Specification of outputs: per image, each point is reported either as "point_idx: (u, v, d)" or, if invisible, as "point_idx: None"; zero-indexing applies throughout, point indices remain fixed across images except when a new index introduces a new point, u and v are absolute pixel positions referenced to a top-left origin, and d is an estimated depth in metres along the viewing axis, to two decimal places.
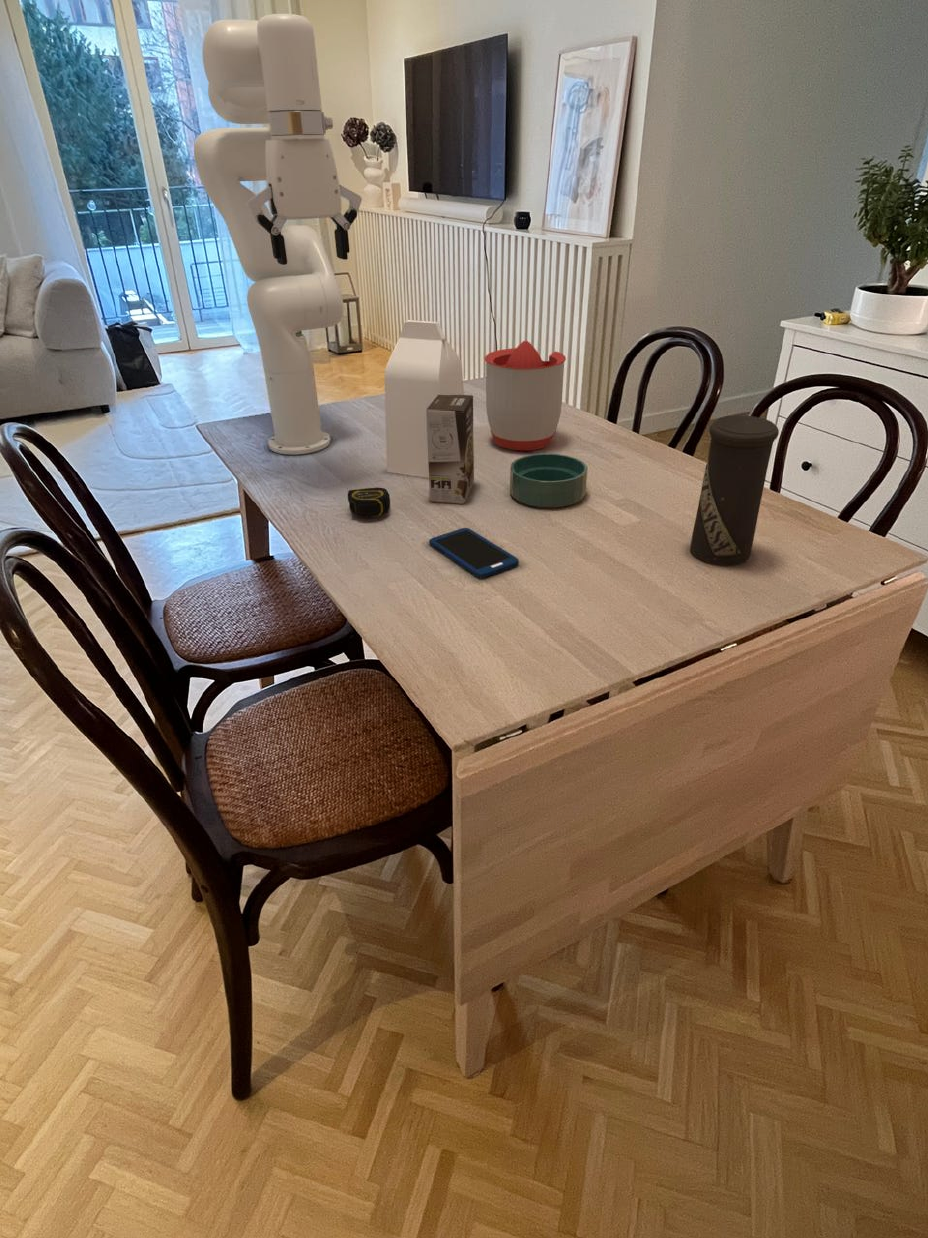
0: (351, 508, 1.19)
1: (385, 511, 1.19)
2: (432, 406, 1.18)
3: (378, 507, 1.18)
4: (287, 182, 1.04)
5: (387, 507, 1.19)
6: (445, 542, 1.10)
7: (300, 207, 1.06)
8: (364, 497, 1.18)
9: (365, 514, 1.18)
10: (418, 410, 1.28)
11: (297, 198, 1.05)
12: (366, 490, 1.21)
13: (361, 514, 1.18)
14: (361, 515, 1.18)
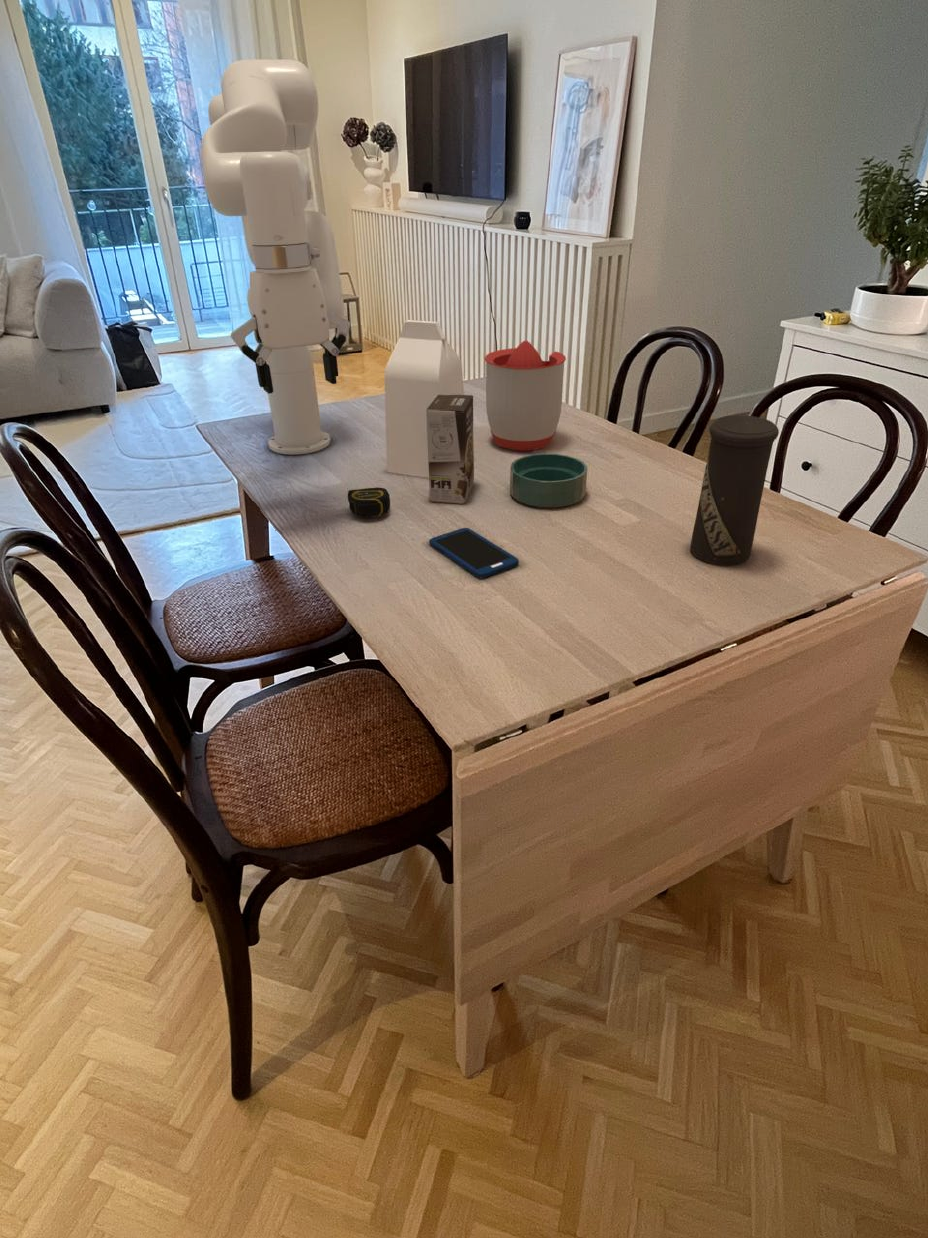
0: (351, 508, 1.19)
1: (385, 511, 1.19)
2: (432, 406, 1.18)
3: (378, 507, 1.18)
4: (272, 314, 0.99)
5: (387, 507, 1.19)
6: (445, 542, 1.10)
7: (286, 337, 1.02)
8: (364, 497, 1.18)
9: (365, 514, 1.18)
10: (418, 410, 1.28)
11: (283, 329, 1.01)
12: (366, 490, 1.21)
13: (361, 514, 1.18)
14: (361, 515, 1.18)
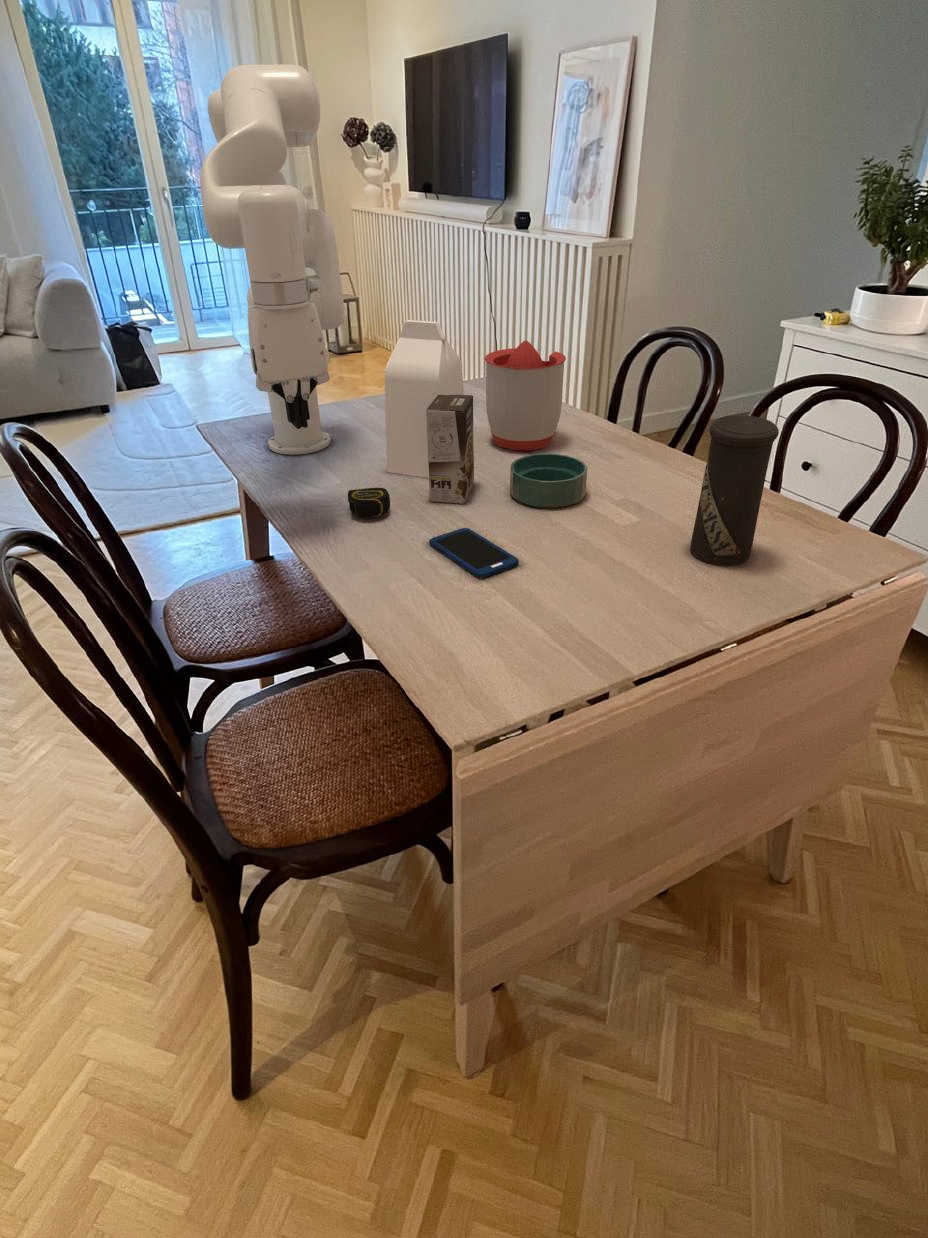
0: (351, 508, 1.19)
1: (385, 511, 1.19)
2: (432, 406, 1.18)
3: (378, 507, 1.18)
4: (270, 349, 1.00)
5: (387, 507, 1.19)
6: (445, 542, 1.10)
7: (284, 371, 1.02)
8: (364, 497, 1.18)
9: (365, 514, 1.18)
10: (418, 410, 1.28)
11: (281, 363, 1.01)
12: (366, 490, 1.21)
13: (361, 514, 1.18)
14: (361, 515, 1.18)
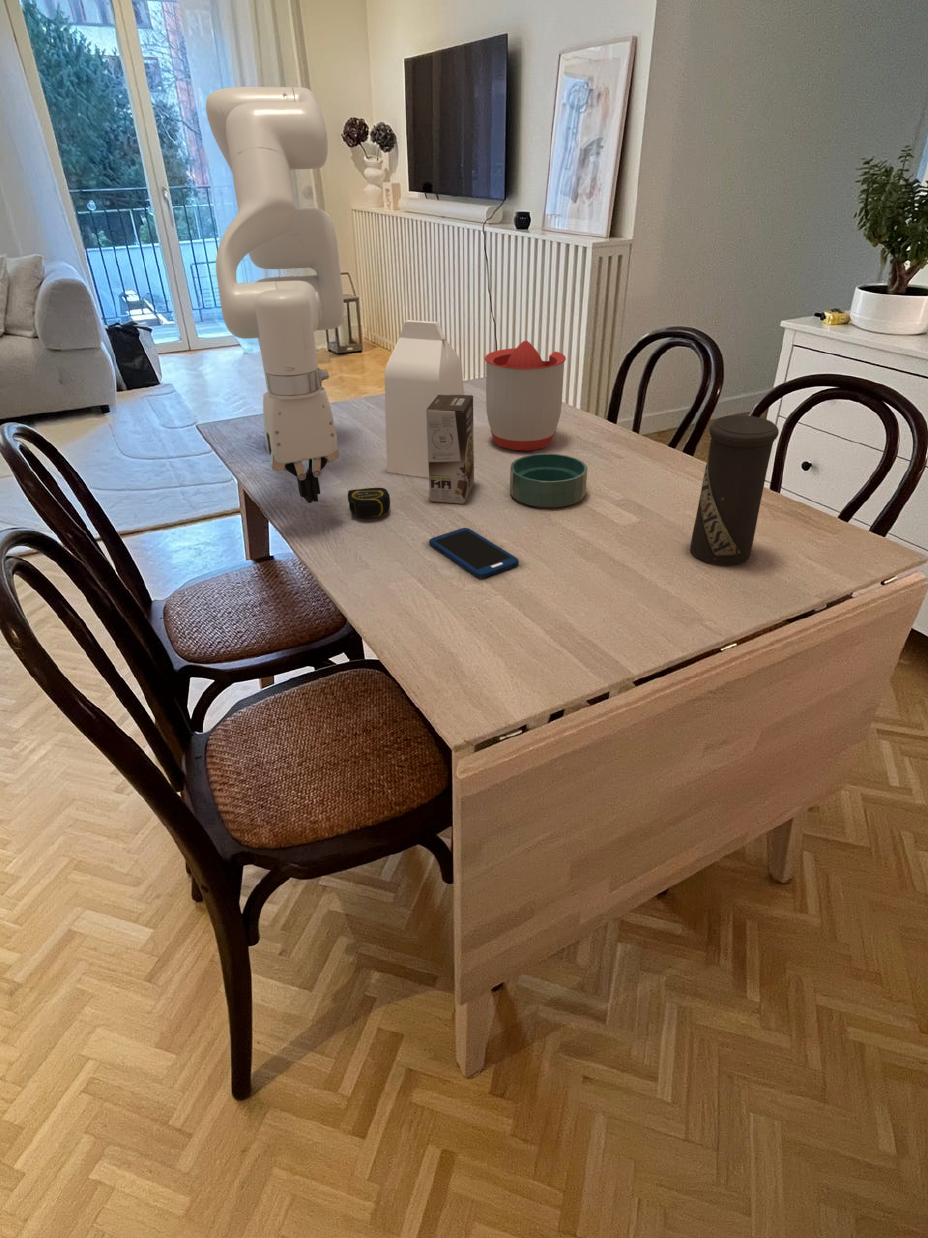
0: (351, 508, 1.19)
1: (385, 511, 1.19)
2: (432, 406, 1.18)
3: (378, 507, 1.18)
4: (284, 434, 1.06)
5: (387, 507, 1.19)
6: (445, 542, 1.10)
7: (297, 452, 1.09)
8: (364, 497, 1.18)
9: (365, 514, 1.18)
10: (418, 410, 1.28)
11: (294, 446, 1.08)
12: (366, 490, 1.21)
13: (361, 514, 1.18)
14: (361, 515, 1.18)
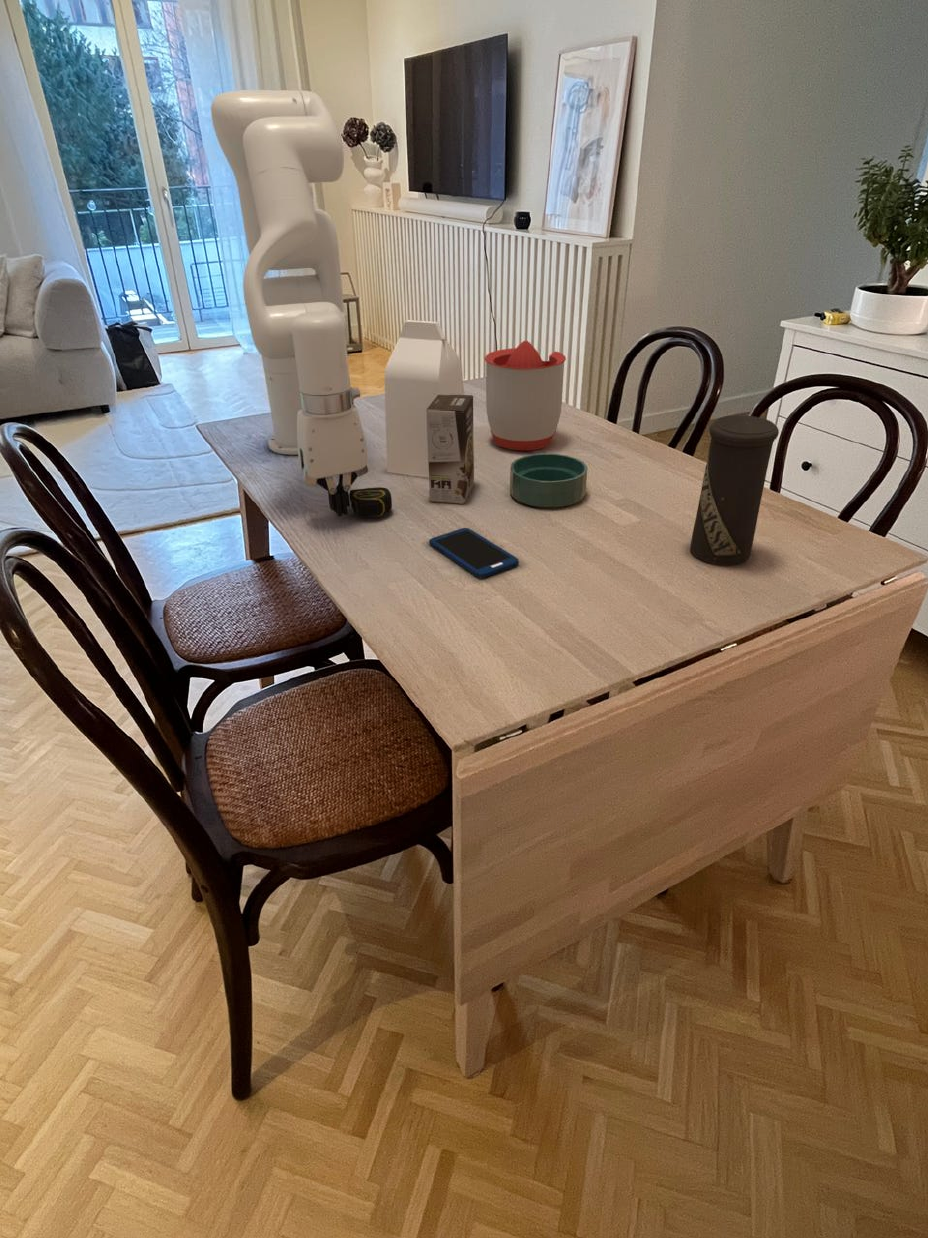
0: (353, 508, 1.19)
1: (387, 511, 1.19)
2: (432, 406, 1.18)
3: (380, 507, 1.18)
4: (317, 450, 1.10)
5: (389, 507, 1.20)
6: (445, 542, 1.10)
7: (329, 468, 1.12)
8: (366, 497, 1.18)
9: (367, 514, 1.18)
10: (418, 410, 1.28)
11: (326, 462, 1.12)
12: (368, 490, 1.21)
13: (363, 514, 1.18)
14: (362, 515, 1.18)
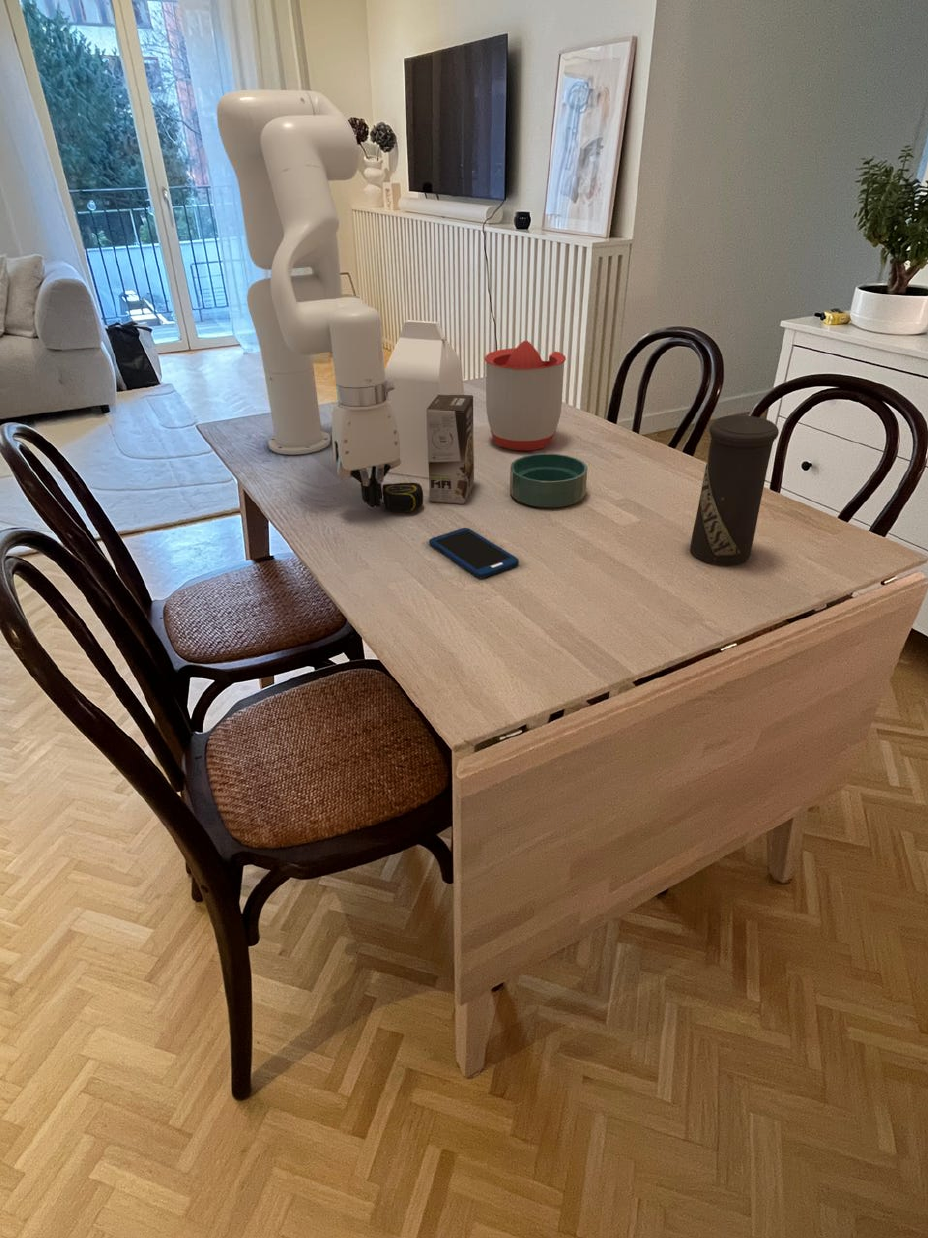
0: (384, 502, 1.20)
1: (418, 506, 1.21)
2: (432, 406, 1.18)
3: (411, 502, 1.19)
4: (352, 442, 1.12)
5: (420, 502, 1.21)
6: (445, 542, 1.10)
7: (363, 460, 1.14)
8: (398, 492, 1.20)
9: (398, 509, 1.20)
10: (418, 410, 1.28)
11: (361, 454, 1.13)
12: (400, 485, 1.22)
13: (394, 508, 1.20)
14: (393, 509, 1.20)
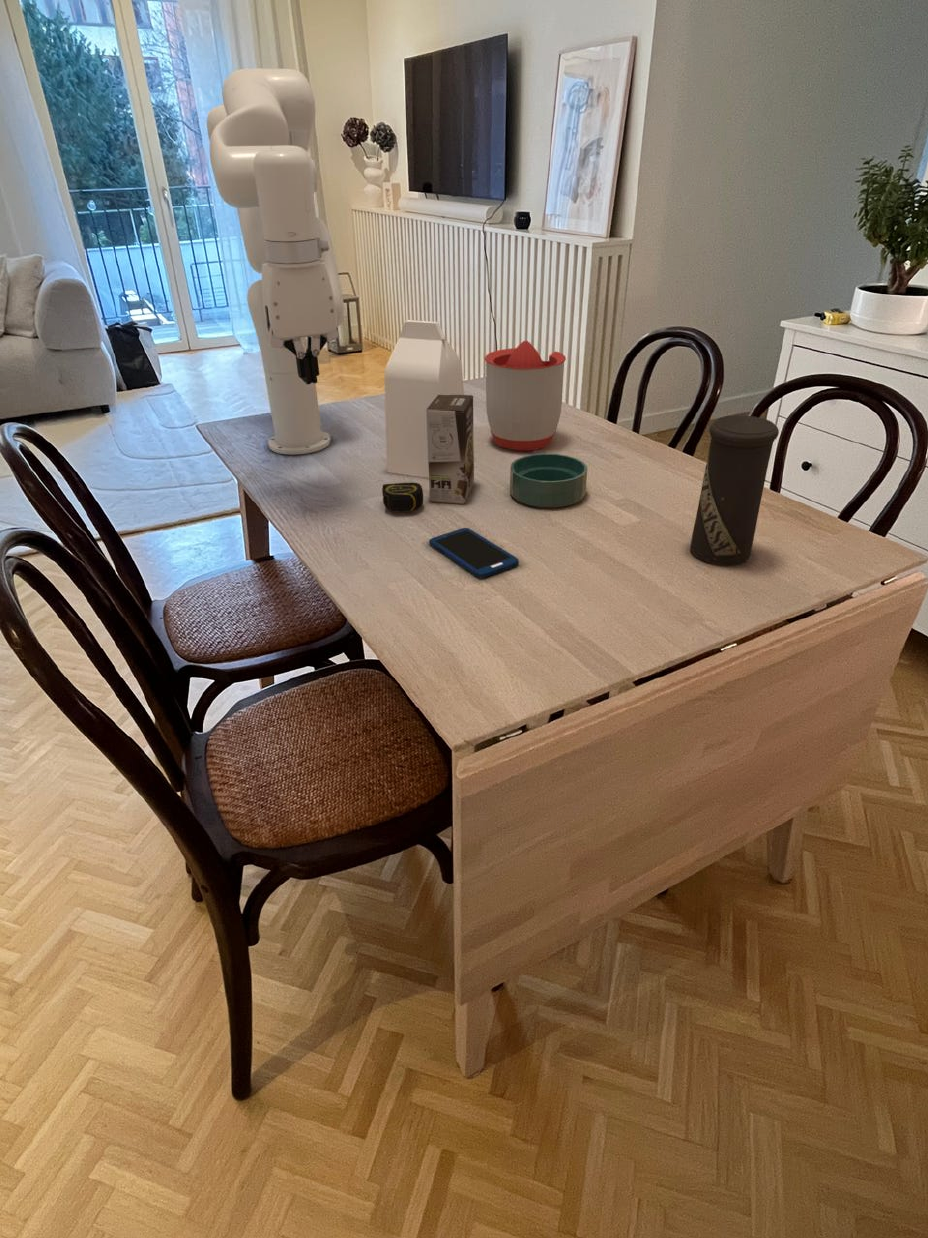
0: (384, 502, 1.20)
1: (418, 506, 1.21)
2: (432, 406, 1.18)
3: (411, 502, 1.19)
4: (283, 306, 1.05)
5: (420, 502, 1.21)
6: (445, 542, 1.10)
7: (296, 327, 1.07)
8: (398, 492, 1.20)
9: (398, 509, 1.20)
10: (418, 410, 1.28)
11: (293, 320, 1.06)
12: (400, 485, 1.22)
13: (394, 508, 1.20)
14: (393, 509, 1.20)
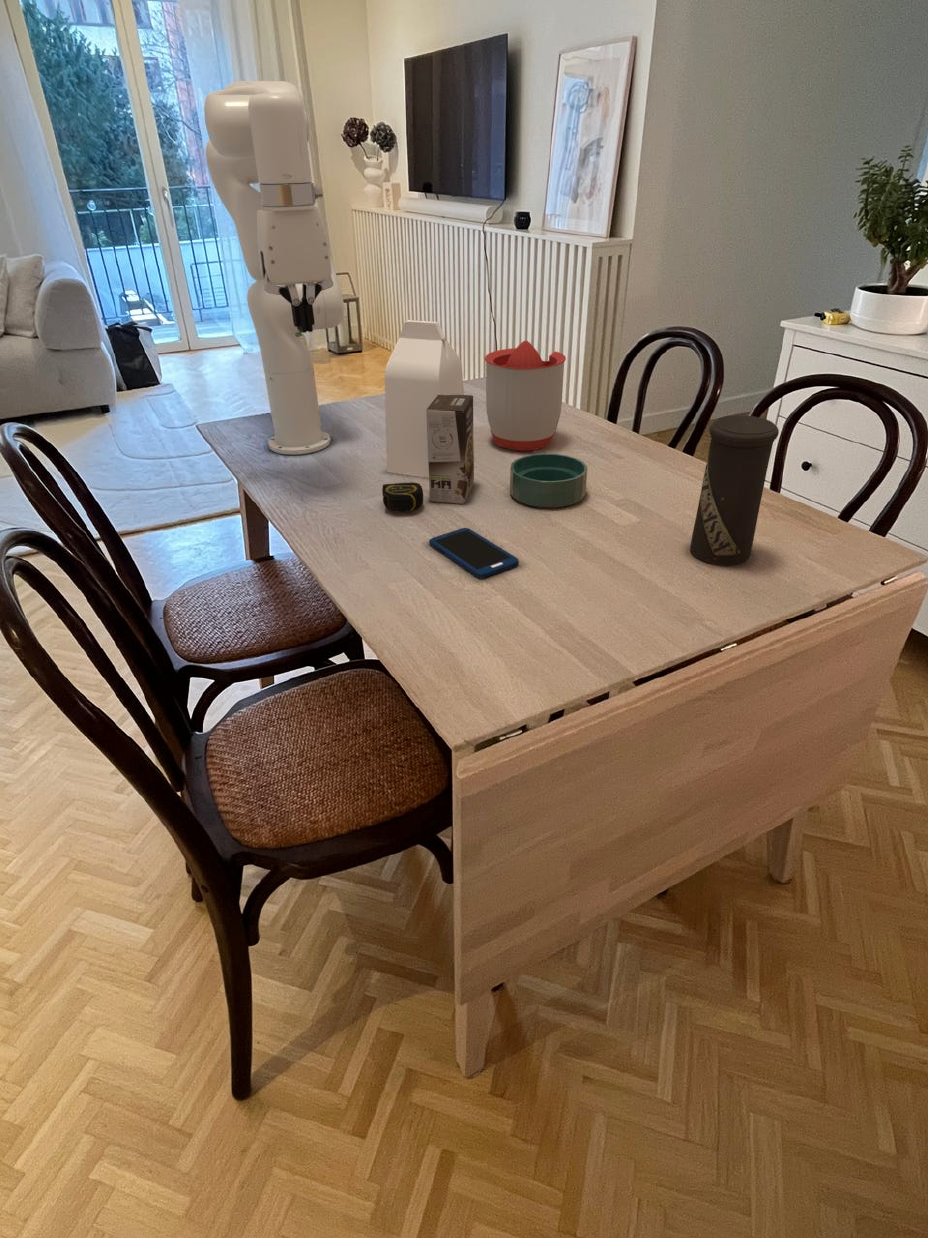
0: (384, 502, 1.20)
1: (418, 506, 1.21)
2: (432, 406, 1.18)
3: (411, 502, 1.19)
4: (278, 250, 1.06)
5: (420, 502, 1.21)
6: (445, 542, 1.10)
7: (291, 273, 1.09)
8: (398, 492, 1.20)
9: (398, 509, 1.20)
10: (418, 410, 1.28)
11: (288, 265, 1.08)
12: (400, 485, 1.22)
13: (394, 508, 1.20)
14: (393, 509, 1.20)
